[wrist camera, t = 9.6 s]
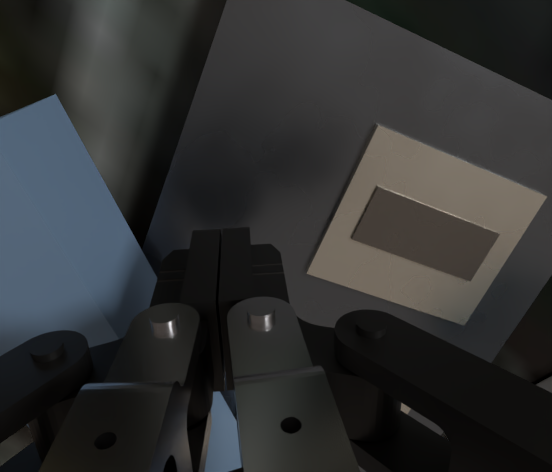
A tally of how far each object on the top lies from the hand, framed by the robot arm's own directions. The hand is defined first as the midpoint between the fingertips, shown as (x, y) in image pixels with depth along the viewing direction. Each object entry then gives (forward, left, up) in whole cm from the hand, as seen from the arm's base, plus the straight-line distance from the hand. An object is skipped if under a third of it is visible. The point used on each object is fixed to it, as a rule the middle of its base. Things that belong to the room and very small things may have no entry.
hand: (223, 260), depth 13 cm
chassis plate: (-4, -4, -3) cm, 7 cm away
